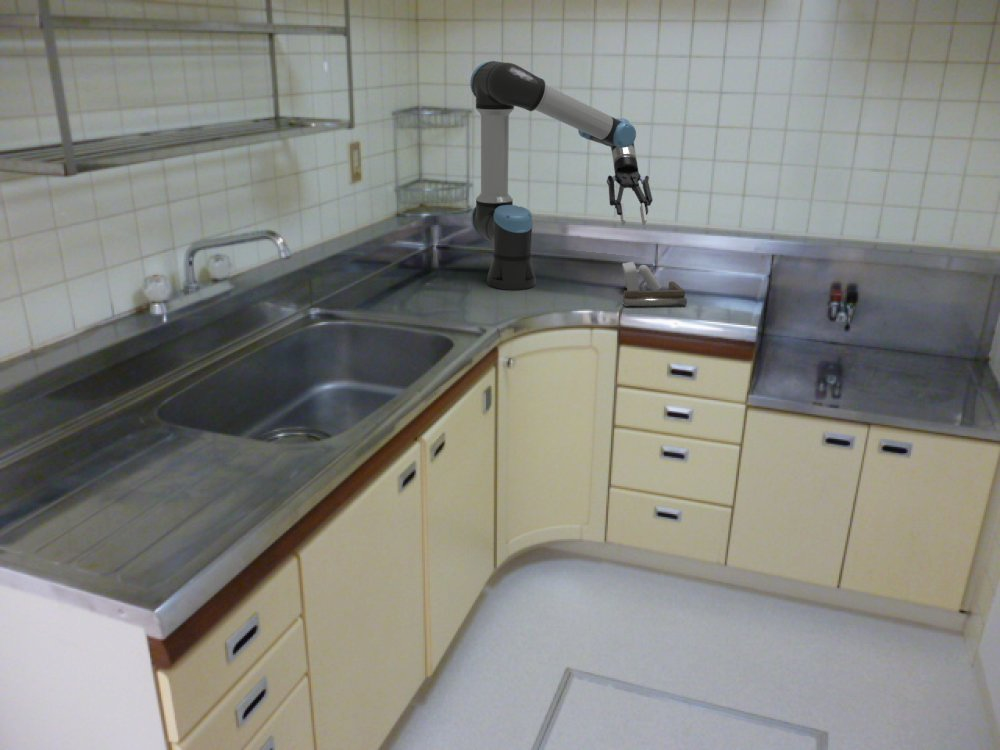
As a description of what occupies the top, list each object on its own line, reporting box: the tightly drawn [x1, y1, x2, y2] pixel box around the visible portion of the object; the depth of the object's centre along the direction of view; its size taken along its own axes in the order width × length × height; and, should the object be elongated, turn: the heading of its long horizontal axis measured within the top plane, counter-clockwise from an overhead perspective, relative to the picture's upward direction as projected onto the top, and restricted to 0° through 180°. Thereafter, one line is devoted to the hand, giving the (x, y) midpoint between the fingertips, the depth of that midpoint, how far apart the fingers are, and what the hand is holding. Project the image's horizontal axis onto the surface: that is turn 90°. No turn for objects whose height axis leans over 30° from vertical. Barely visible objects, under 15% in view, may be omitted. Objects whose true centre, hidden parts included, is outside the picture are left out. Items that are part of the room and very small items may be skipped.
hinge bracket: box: [622, 281, 688, 307], centre depth 247 cm, size 18×13×4 cm
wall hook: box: [621, 261, 662, 291], centre depth 255 cm, size 8×10×10 cm
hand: (634, 222), depth 262 cm, fingers open, 6 cm apart
